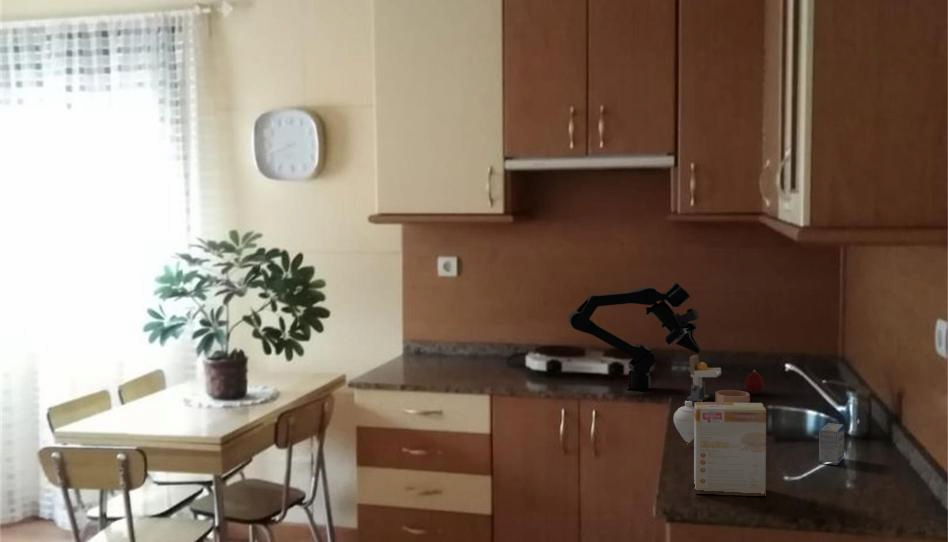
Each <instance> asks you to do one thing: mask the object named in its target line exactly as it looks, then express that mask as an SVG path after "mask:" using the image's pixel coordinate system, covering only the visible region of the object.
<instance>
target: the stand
mask: <svg viewBox="0 0 948 542" xmlns="http://www.w3.org/2000/svg"><path fill="white" fill-rule="evenodd" d="M702 386H703V387H702V388H700V389H699V386H697V385H693V384H691V386H690V395H689V396H687V397H686V401H687V400H689V401H690V400H691V401H692V402H695V401H701V402H703V401H704V400H705V401H706V400H708V399H709V398H710V397H709V396H710V395H709V394H706V382H705V381H702ZM707 398H708V399H707ZM705 401H704V402H705Z"/></svg>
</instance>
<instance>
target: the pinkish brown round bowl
mask: <svg viewBox="0 0 948 542" xmlns="http://www.w3.org/2000/svg"><path fill="white" fill-rule="evenodd" d="M714 402H727V403H751V394H750V392H747V391H743V390H737V389H722V390H716V391H715V392H714Z"/></svg>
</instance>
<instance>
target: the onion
mask: <svg viewBox="0 0 948 542" xmlns="http://www.w3.org/2000/svg"><path fill="white" fill-rule="evenodd" d="M744 385H745V388H746V390H748V391H749V393H751V394H752V395H756V394H757V393H758V392H760V391H761V390H762V389H763V387H764V379H763V377H762V375H760V374H759V373H758V372H757V370H756V369H753V370H752V372H751V373H748V375H747V376H746V378H745V380H744Z"/></svg>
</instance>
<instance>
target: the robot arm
mask: <svg viewBox="0 0 948 542" xmlns="http://www.w3.org/2000/svg"><path fill="white" fill-rule="evenodd" d="M690 298H691V295H690V294H689V293H688V292H687V291H686V290H685V289H684V288H683V287H682V286H681V285H680V284H679V283H678V282H675V283H673V284H672V285H671V287H670V288H668V290H667V289H666V291H665V292H663V291H657V290H656V288H653V287H652V286H649V285H648V286H646V285H645V286H642V287H638V288H635V289H633V290H629V291H623V292H622V291H621V292H611V293H603V294H602V293H601V294H594V293H593V294H590V295H588V297H587V298H586V300H585V301H584V302H582V303H581V305H579V306H578V308H577V309H576V310H574V311H572V312H570V313H569V315H568V316H567V317H568V318H567V321H568V324H569V326H571V327H572V328H573V329H574V330H576V331H579V332H582V333H585V334H589V335H591V336H594V337H595V338H597V339H599V340H600V341H602V342H605V343H606V344H608V345H610V346H611V347H613V348H614V349H617V350H618V351H620V352H622V353H624V354H626V355H627V356H628V357H629V358H631V360H630V361H629V362H627V363H628V364H627V365H628V368H629V369H630V370H629V371H628V387H627V388H626V390H627V391H635V392H636V391H637V392H638V391H639V392H646V391H648V390H650V389H651V388H652V386H651V385H652V379H651V378H652V377H651V375H650V370H651V368H652V367H653V366H654V365H655V363H656V356H655V354H654V353H652V351H653V350H652V349H650V348H649V347H647V346H644V345H642V344H641V343H640V342H636V344H632V343H629V342H628V341H626V340H624V339H622V338H620V337H619V336H617V335H616V334H613V333H611V332H610V331H608V330H607V329H605V328H604V327H601V326H599V325H597V324H596V323H595V322H593V320H591V317H592V316H593V314H594V312H595V311H596V310H597V309H598V307H607V306H617V305H625V304H626V305H627V304H634V305H635V304H637V305H643V306H644V305H645V306H646V307H645V308H646V309H645V310H646V311H645V312H646V313H645V314H646V317H650V315H651V314H652V315H653V316H654V317H655V318H656V320H658V321H659V323H661V325H660V327H662V328H663V329H666V330H667V331H668V335H666V336H665V342H666V343H667V344H668V346H671V345H672V344H674V341H675V345H678V346H680V347H683V348H685V349H687V350H690V351H692V352H694V353H696V354H699V353H700V352H701V351H702V349H700V346H699V344H698V342H697V340H696V338H695V336H694V335H695V330H696V329H697V328H698V327H699V325H698V324H697V323H696V322H695V321H696V320H699V319H700V317H699V311H697V309H695V308H693V307H691V308H688V309H686V313H683V314H681V313H678V312H675V311H674V310H673V309H674V308H677V309H678V308H679V307H681V306H682V305H683V304H684V303H685V302H686V301H688V300H689V299H690ZM649 306H650V307H649ZM676 340H677V341H676Z"/></svg>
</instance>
